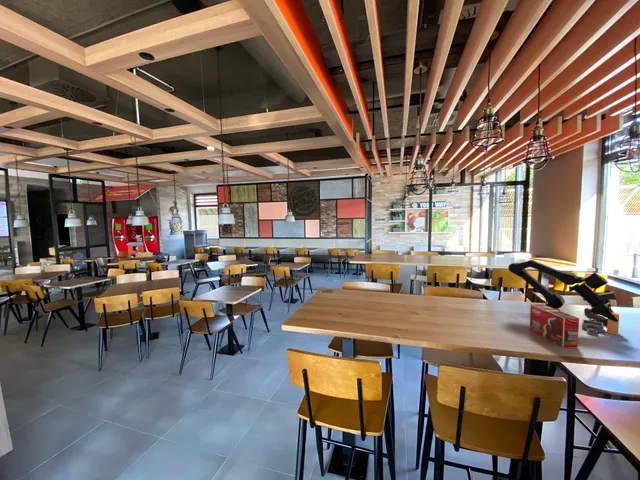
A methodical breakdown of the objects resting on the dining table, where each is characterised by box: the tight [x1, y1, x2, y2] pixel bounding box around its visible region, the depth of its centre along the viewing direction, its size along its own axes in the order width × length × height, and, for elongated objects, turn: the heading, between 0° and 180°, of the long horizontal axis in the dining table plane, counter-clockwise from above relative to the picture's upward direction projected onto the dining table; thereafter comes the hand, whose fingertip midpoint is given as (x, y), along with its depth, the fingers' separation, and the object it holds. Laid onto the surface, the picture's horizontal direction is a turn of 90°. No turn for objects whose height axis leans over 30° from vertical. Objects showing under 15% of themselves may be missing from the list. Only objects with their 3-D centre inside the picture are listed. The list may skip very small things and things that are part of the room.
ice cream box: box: [529, 303, 580, 348], centre depth 127 cm, size 20×6×13 cm, turn 177°
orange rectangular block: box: [606, 311, 620, 336], centre depth 132 cm, size 4×4×10 cm
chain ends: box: [581, 318, 604, 337], centre depth 137 cm, size 22×8×3 cm, turn 134°
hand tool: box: [583, 307, 608, 327], centre depth 150 cm, size 19×4×5 cm, turn 159°
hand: (617, 320), depth 131 cm, fingers closed on orange rectangular block, 4 cm apart
